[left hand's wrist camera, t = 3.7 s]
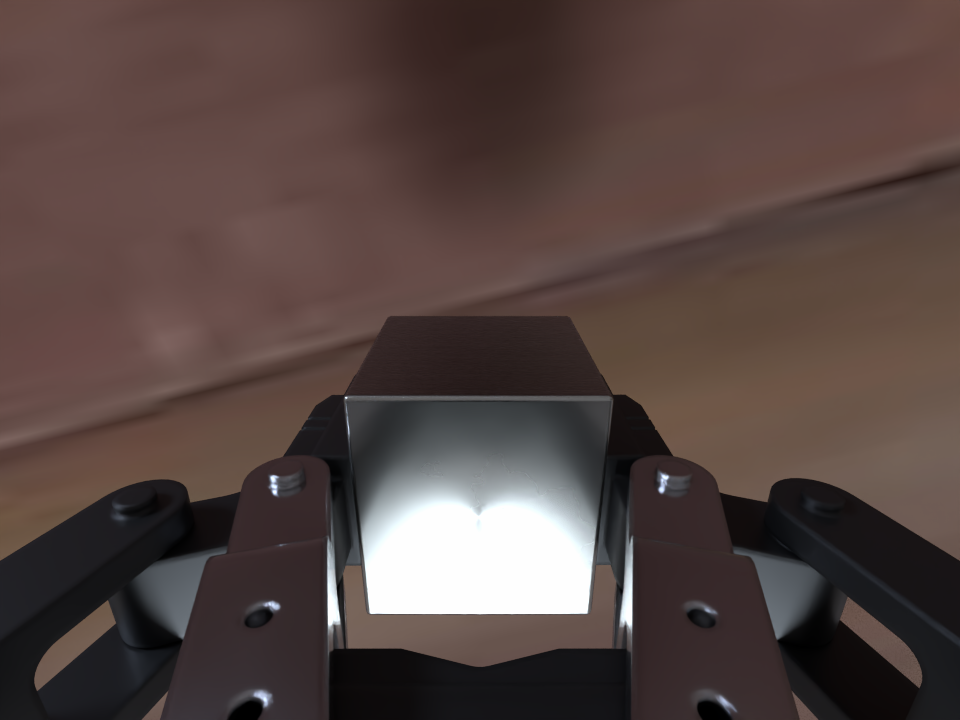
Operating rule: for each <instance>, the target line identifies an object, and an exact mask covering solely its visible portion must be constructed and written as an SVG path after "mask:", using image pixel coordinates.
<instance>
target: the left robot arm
mask: <svg viewBox="0 0 960 720" xmlns="http://www.w3.org/2000/svg"><path fill="white" fill-rule="evenodd" d="M355 376H356V375H355ZM355 376H354V378H355ZM601 376H602V375H601ZM354 378H353V380H354ZM602 378H603V379H604V377H603V376H602ZM353 380H352V381H353ZM604 381H605V379H604ZM351 383H352V382H351ZM351 383H350V385H351ZM605 383H606V381H605ZM350 385H349V387H350ZM606 385H607V383H606ZM349 387H348V389H349ZM607 387H608V385H607ZM348 389H347V390H348ZM608 389H609V390H610V388H609V387H608ZM347 390H346V392H347ZM346 392H345V394H346ZM610 392H611V390H610ZM345 394H344V395H331V396H330V397H328V398H327V399H325V400H324V401H322V402H321V403H319V404H318V405H316V406H315V408H314V409H313V411H312V413H311V414H310V416H309V417H308V420H306V422H305V423H304V425H303V427H302V430H300V431H299V433H298V434H297V436H296V437H295V439H294V441H293V442H292V444H291V445H290V447H289V448H288V450H287V451H286V453H285V454H284V456H283V457H281V458H277V459H274V460H271V461H269V462H266V463H264V464H262V465H260V466H259V467H257V468H255V469H254V470H253V471H251V472H250V473H249V474H248V475H247V477H246V478H245V480H244V482H243V485H242V489H241V492H238V493H235V494H231V495H227V496H223V497H217V498H212V499H207V500H202V501H197V502H191V503H190V499H189V495H188V491H187V489H186V487H185V486H184V485H183V484H181V483H180V482H177V481H173V480H162V479H161V480H150V481H144V482H140V483H136V484H132V485H129V486H126V487H124V488H121V489H119V490H116V491H114V492H112V493H110V494H108V495H107V496H105V497H103V498H101V499H100V500H98V501H97V502H95V503H93V504H92V505H90V506H89V507H87V508H85V509H84V510H82V511H80V512H79V513H77V514H76V515H74V516H72V517H71V518H69V519H67V520H66V521H64V522H63V523H61V524H59V525H58V526H56V527H54V528H53V529H51V530H50V531H48V532H46V533H45V534H43V535H41V536H40V537H38V538H37V539H35V540H33V541H32V542H30V543H28V544H27V545H25V546H24V547H22V548H20V549H19V550H17V551H15V552H14V553H12V554H11V555H9V556H7V557H6V558H4V559H2V560H1V561H0V720H142V718H143V717H144V716H145V715H146V714H147V713H148V712H149V711H150V710H151V709H152V708H153V707H154V705H155V704H156V703H157V702H158V701H159V700H160V699H161V698H162V697H163V696H164V695H165V693H166V692H167V691H168V690H169V691H168V694H167V697H166V701H165V704H164V708H163V711H162V715H161V718H160V720H800V718H799V715H798V711H797V708H796V704H795V701H794V698H793V694H792V691H793V692H794V694H795V695H796V696H797V697H798V698H799V699H800V700H801V701H802V702H803V703H804V704H805V705H806V707H807V708H808V709H809V710H810V711H811V712H812V713H813V714H814V715H815V716H816V717H817V718H818V720H960V561H959V560H957V559H956V558H954V557H953V556H951V555H949V554H948V553H946V552H945V551H943V550H941V549H940V548H938V547H936V546H935V545H933V544H932V543H930V542H928V541H927V540H925V539H923V538H922V537H920V536H919V535H917V534H915V533H914V532H912V531H910V530H909V529H907V528H906V527H904V526H902V525H901V524H899V523H897V522H896V521H894V520H893V519H891V518H889V517H888V516H886V515H884V514H883V513H881V512H880V511H878V510H876V509H875V508H873V507H871V506H870V505H868V504H867V503H865V502H863V501H862V500H860V499H858V498H857V497H855V496H854V495H852V494H850V493H848V492H846V491H844V490H842V489H840V488H838V487H835V486H833V485H830V484H827V483H823V482H820V481H815V480H810V479H802V478H789V479H783V480H780V481H778V482H776V483H775V484H774V485H773V486H772V488H771V490H770V494H769V498H768V502H762V501H757V500H752V499H747V498H742V497H736V496H731V495H727V494H723V493H720V492H719V489H718V485H717V482H716V480H715V478H714V477H713V475H712V474H711V473H710V472H708V471H707V470H706V469H704V468H703V467H701V466H700V465H698V464H696V463H694V462H691V461H689V460H686V459H683V458H679V457H674V456H673V455H672V453H671V452H670V450H669V449H668V447H667V446H666V444H665V442H664V441H663V439H662V438H661V436H660V434H659V433H658V431H657V430H655V427H654V425H653V423H652V422H651V420H649V417H648V415H647V414H646V412H645V411H644V409H643V408H642V406H641V405H640V404H638V403H637V402H635V401H634V400H632V399H631V398H629V397H628V396H626V395H613V394H612V392H611V394H612V396H613V399H614V401H613V410H612V420H611V429H610V438H609V448H608V457H607V467H606V476H605V485H604V495H603V504H602V514H601V523H600V533H599V542H598V551H597V561H596V565H611V567H612V570H613V574H614V577H615V579H616V587H615V596H614V616H613V637H612V649H556V650H552V651H548V652H544V653H540V654H535V655H531V656H527V657H523V658H519V659H515V660H511V661H507V662H503V663H499V664H495V665H491V666H486V667H474V666H469V665H465V664H461V663H457V662H453V661H449V660H445V659H441V658H437V657H433V656H429V655H425V654H420V653H416V652H412V651H408V650H404V649H348V637H347V616H346V596H345V587H344V579H343V572H344V569H345V565H361V558H360V549H359V539H358V530H357V521H356V512H355V503H354V493H353V484H352V475H351V466H350V457H349V448H348V439H347V429H346V420H345V411H344V402H343V399H344V396H345ZM847 597H849V598H850V599H852V600H853V601H854V602H855V603H857V604H858V605H859V606H860V607H862V608H863V609H864V610H865V611H867V612H868V613H869V614H870V615H872V616H873V617H874V618H875V619H877V620H878V621H879V622H880V623H882V624H883V625H884V626H885V627H887V628H888V629H889V630H890V631H891V632H893V633H894V634H895V635H896V636H898V637H899V638H900V639H901V640H902V641H903V642H905V644H906V645H907V646H908V647H909V648H910V649H911V651H912V652H913V653H914V655H915V657H916V658H917V660H918V662H919V664H920V667H921V670H922V683H921V686H920V688H918V687H917V686H916V685H915V684H914V683H912V682H911V681H910V680H909V679H908V678H907V677H905V676H904V675H903V674H902V673H901V672H900V671H899V670H897V669H896V668H895V667H894V666H893V665H892V664H890V663H889V662H888V661H887V660H886V659H885V658H883V657H882V656H881V655H880V654H879V653H878V652H876V651H875V650H874V649H873V648H872V647H871V646H869V645H868V644H867V643H866V642H865V641H864V640H862V639H861V638H860V637H859V636H858V635H857V634H856V633H854V632H853V631H852V630H851V629H850V628H849V627H847V626H846V625H845V624H844V623H843V622H842V621H840V617H841V615H842V612H843V609H844V606H845V603H846V600H847ZM107 600H108V601H109V604H110V607H111V610H112V613H113V615H114V618H115V621H116V624H115V625H114V626H113V627H111V628H110V629H109V630H108V631H107V632H106V633H104V634H103V635H102V636H101V637H100V638H99V639H97V640H96V641H95V642H94V643H93V644H92V645H91V646H89V647H88V648H87V649H86V650H85V651H84V652H82V653H81V654H80V655H79V656H78V657H77V658H75V659H74V660H73V661H72V662H71V663H70V664H68V665H67V666H66V667H65V668H64V669H63V670H61V671H60V672H59V673H58V674H57V675H56V676H54V677H53V678H52V679H51V680H50V681H49V682H48V683H46V684H45V685H44V686H43V687H42V688H41V689H39V690H38V691H37V690H36V688H35V684H34V677H35V672H36V669H37V666H38V664H39V662H40V660H41V659H42V657H43V655H44V654H45V653H46V652H47V650H48V649H49V648H50V647H51V646H52V645H53V644H54V643H55V642H56V641H57V640H59V639H60V638H61V637H62V636H64V635H65V634H66V633H67V632H68V631H70V630H71V629H72V628H73V627H75V626H76V625H77V624H78V623H80V622H81V621H82V620H83V619H85V618H86V617H87V616H88V615H90V614H91V613H92V612H93V611H95V610H96V609H97V608H98V607H100V606H101V605H102V604H103V603H105V602H106V601H107ZM791 690H792V691H791Z"/></svg>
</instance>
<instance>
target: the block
mask: <svg viewBox="0 0 960 720" xmlns="http://www.w3.org/2000/svg"><path fill="white" fill-rule="evenodd" d="M613 401H614V399H613V396H612V394H611V392H610V390H609V389H608V387H607V385H606V383H605V381H604V379H603V378H602V376H601V374H600V372H599V370H598V368H597V367H596V365H595V363H594V361H593V359H592V357H591V355H590V354H589V352H588V350H587V348H586V346H585V344H584V343H583V341H582V339H581V337H580V335H579V333H578V332H577V330H576V328H575V326H574V324H573V322H572V321H571V319H570V317H568V316H390V317H388V318H387V320H386V322H385V324H384V325H383V327H382V329H381V331H380V333H379V334H378V336H377V338H376V340H375V342H374V343H373V345H372V347H371V349H370V351H369V352H368V354H367V356H366V358H365V360H364V361H363V363H362V365H361V367H360V369H359V371H358V372H357V374H356V376H355V378H354V380H353V381H352V383H351V385H350V387H349V389H348V390H347V392H346V394H345V396H344V399H343V402H344V411H345V420H346V429H347V439H348V448H349V457H350V466H351V475H352V484H353V493H354V503H355V512H356V521H357V530H358V539H359V549H360V558H361V568H362V577H363V586H364V596H365V605H366V611H367V613H368V614H370V615H587V614H590V612H591V608H592V599H593V589H594V580H595V570H596V561H597V551H598V542H599V533H600V523H601V514H602V504H603V495H604V485H605V476H606V467H607V457H608V448H609V438H610V429H611V420H612V410H613Z"/></svg>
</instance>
